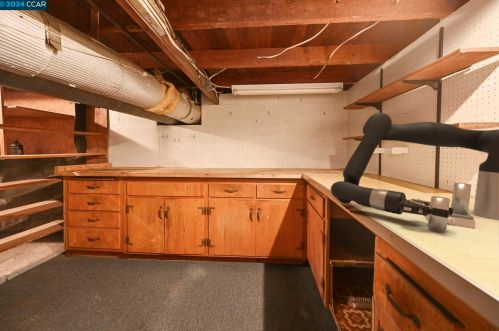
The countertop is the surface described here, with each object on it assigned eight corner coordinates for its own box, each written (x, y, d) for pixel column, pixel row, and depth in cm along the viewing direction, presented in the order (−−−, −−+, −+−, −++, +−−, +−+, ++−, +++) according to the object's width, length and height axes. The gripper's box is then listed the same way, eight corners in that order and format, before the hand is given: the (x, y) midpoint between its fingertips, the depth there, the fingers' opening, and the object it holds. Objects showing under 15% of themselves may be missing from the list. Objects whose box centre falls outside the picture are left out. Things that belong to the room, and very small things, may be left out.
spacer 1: (426, 226, 75) (430, 195, 74) (444, 229, 72) (448, 197, 71) (428, 230, 71) (432, 198, 70) (447, 234, 69) (451, 200, 68)
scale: (423, 213, 91) (423, 204, 91) (464, 219, 85) (465, 210, 85) (427, 221, 80) (428, 211, 80) (475, 229, 74) (476, 218, 74)
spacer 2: (449, 210, 83) (452, 182, 82) (465, 212, 81) (469, 183, 80) (452, 213, 80) (455, 183, 79) (469, 215, 77) (473, 185, 76)
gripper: (379, 192, 77) (446, 203, 64) (395, 188, 86) (457, 197, 73) (377, 214, 78) (443, 230, 65) (394, 208, 87) (454, 221, 74)
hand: (450, 212), depth 69 cm, fingers closed on spacer 1, 4 cm apart
